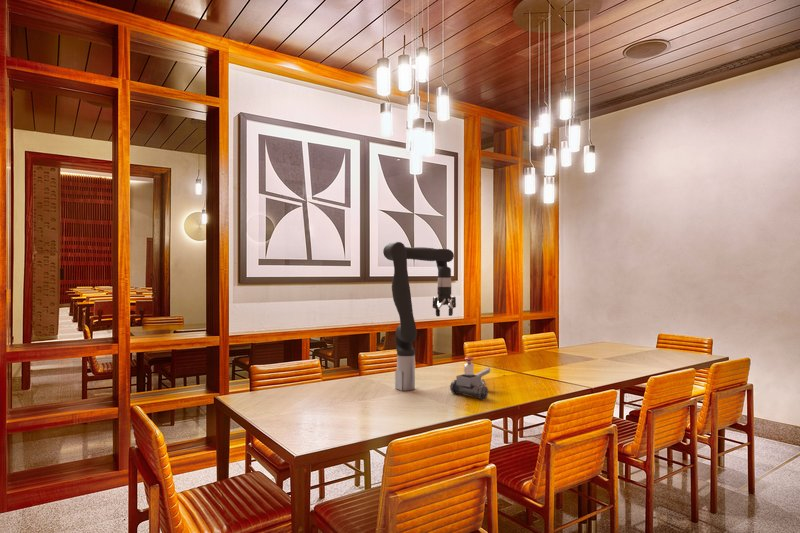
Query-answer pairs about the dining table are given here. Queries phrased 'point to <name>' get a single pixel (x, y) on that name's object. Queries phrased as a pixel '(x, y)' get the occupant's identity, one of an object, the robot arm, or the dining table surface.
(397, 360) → the robot arm
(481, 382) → the door handle
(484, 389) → the grey toy rover
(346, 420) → the dining table surface
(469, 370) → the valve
